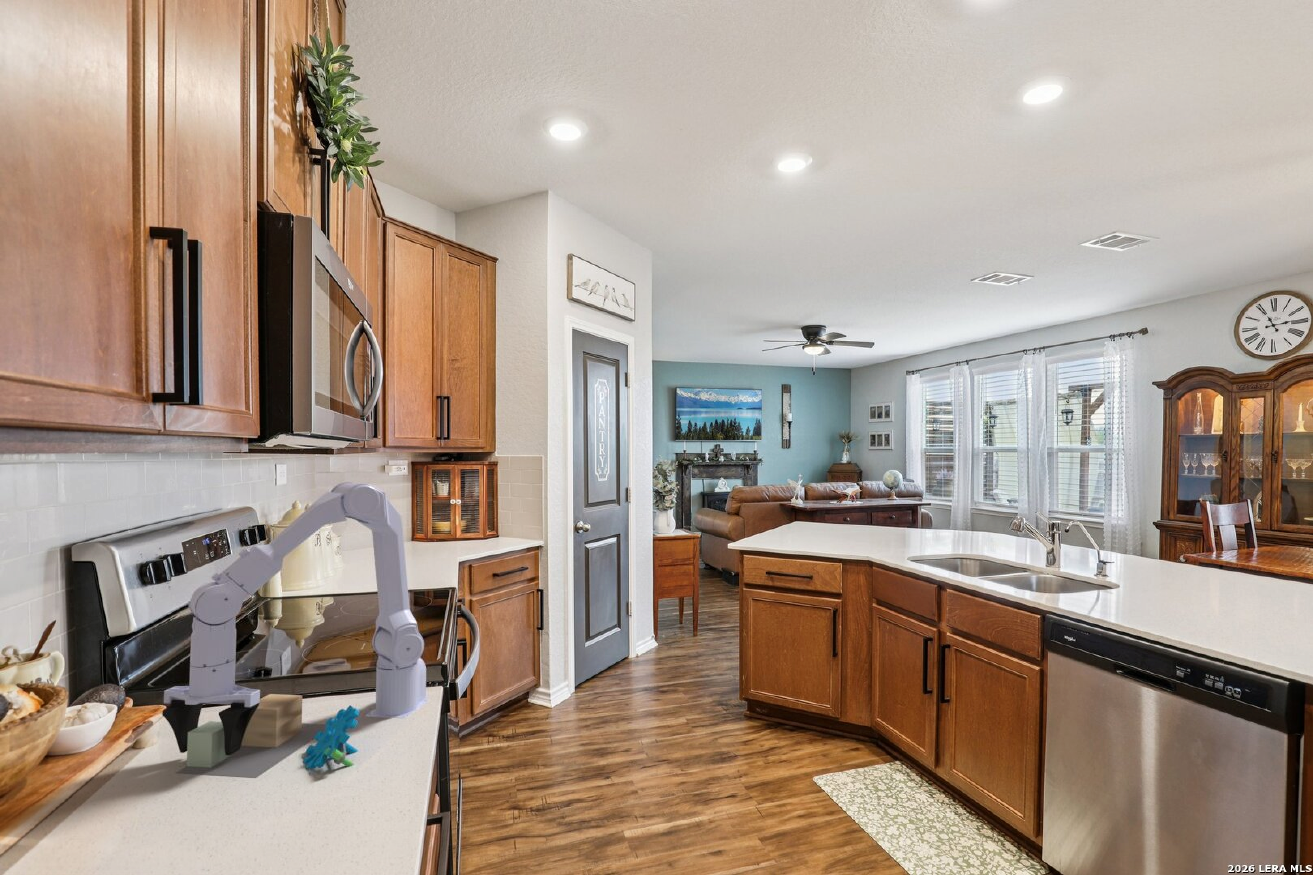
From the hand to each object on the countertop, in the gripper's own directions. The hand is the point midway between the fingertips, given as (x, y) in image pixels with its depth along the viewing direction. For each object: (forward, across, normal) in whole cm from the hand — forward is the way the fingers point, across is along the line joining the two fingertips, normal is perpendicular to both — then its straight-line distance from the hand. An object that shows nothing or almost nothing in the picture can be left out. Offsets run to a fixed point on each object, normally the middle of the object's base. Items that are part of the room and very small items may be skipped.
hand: (210, 750), depth 93 cm
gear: (+2, +18, +2) cm, 19 cm away
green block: (+1, 0, 0) cm, 1 cm away
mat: (+2, +4, +5) cm, 7 cm away
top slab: (-2, +4, +8) cm, 9 cm away
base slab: (+1, +4, +8) cm, 9 cm away
